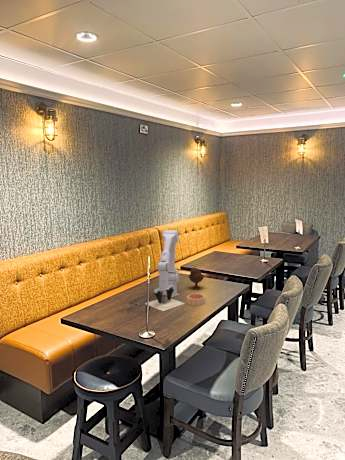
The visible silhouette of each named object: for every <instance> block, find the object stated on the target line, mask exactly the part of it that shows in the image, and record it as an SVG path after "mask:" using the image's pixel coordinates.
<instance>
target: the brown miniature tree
mask: <svg viewBox="0 0 345 460" xmlns="http://www.w3.org/2000/svg"><path fill="white" fill-rule="evenodd" d="M189 273H190V274H188V279H189V280H190V281H191V283H194V286H192V289H193V290H200V289H201V287H200V286H198V283H201V282H202V281H203V280H204V277H205V275H204V274H203V273H202V271H201V270H200V269H198V268H197V267H193V268H191V269H190V271H189Z"/></svg>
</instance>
